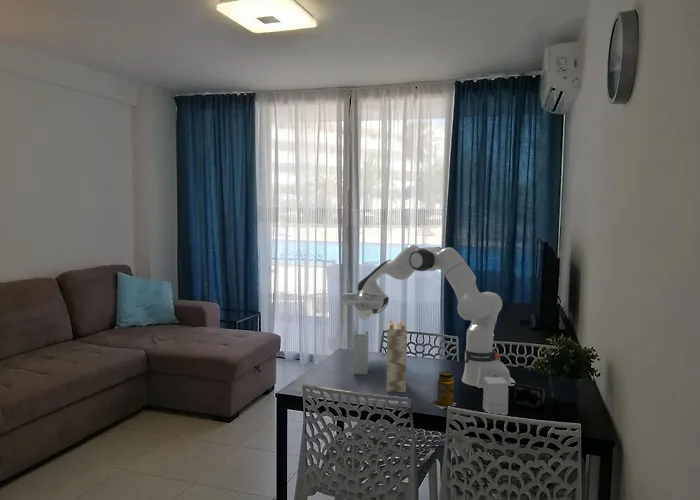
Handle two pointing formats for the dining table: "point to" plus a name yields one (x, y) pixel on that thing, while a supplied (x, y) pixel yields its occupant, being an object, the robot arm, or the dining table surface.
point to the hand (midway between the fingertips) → (362, 293)
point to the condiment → (445, 390)
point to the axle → (361, 297)
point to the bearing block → (396, 356)
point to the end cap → (529, 394)
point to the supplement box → (495, 395)
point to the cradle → (360, 353)
